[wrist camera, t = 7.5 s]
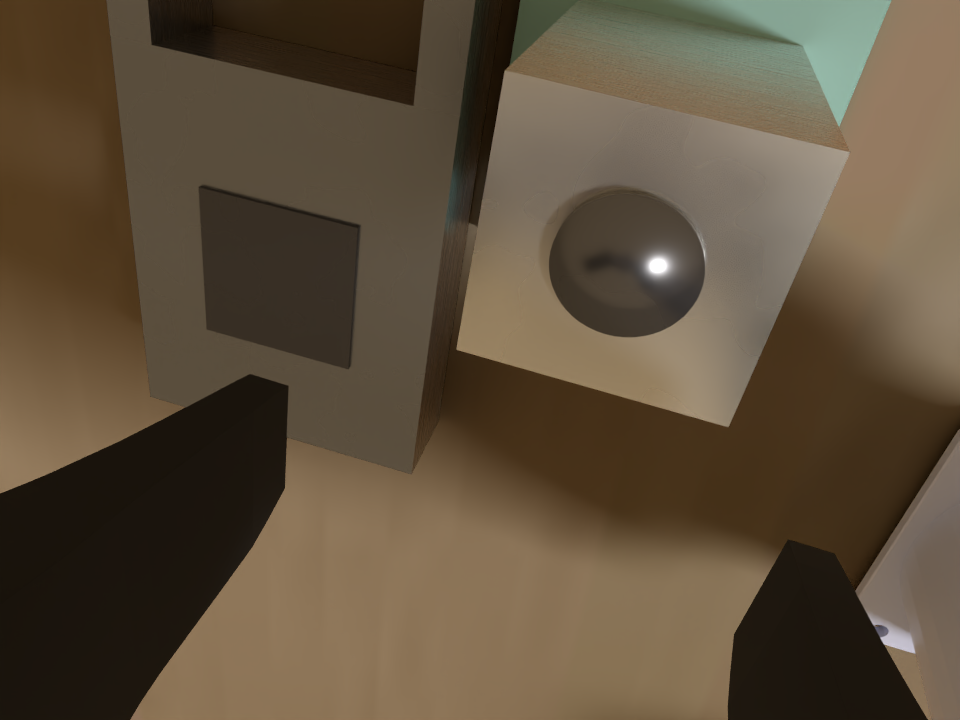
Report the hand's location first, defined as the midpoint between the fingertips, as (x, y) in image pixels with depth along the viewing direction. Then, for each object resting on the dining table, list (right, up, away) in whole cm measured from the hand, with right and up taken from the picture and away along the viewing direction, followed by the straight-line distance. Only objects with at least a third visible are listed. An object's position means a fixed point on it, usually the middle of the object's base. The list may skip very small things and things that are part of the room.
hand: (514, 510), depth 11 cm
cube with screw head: (+3, +7, +6) cm, 10 cm away
